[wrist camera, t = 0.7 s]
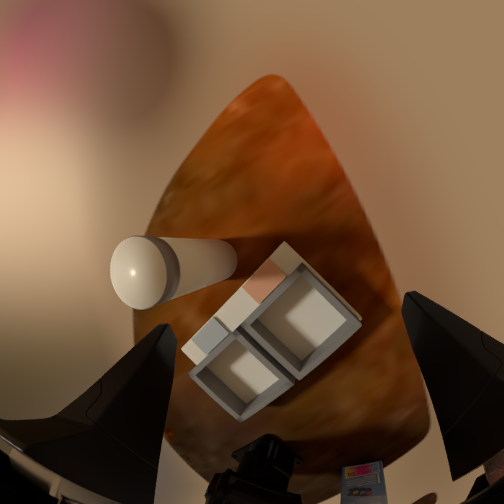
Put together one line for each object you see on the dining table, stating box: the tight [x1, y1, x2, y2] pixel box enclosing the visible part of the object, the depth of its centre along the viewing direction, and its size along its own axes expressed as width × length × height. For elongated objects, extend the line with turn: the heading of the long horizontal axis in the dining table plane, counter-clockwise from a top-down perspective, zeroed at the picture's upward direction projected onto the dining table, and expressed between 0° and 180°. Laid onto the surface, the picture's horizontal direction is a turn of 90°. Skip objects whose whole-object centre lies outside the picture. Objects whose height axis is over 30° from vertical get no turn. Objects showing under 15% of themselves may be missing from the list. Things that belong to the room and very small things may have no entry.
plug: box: [110, 236, 238, 310], centre depth 20 cm, size 4×4×13 cm
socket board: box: [181, 241, 362, 423], centre depth 24 cm, size 15×10×4 cm, turn 137°
